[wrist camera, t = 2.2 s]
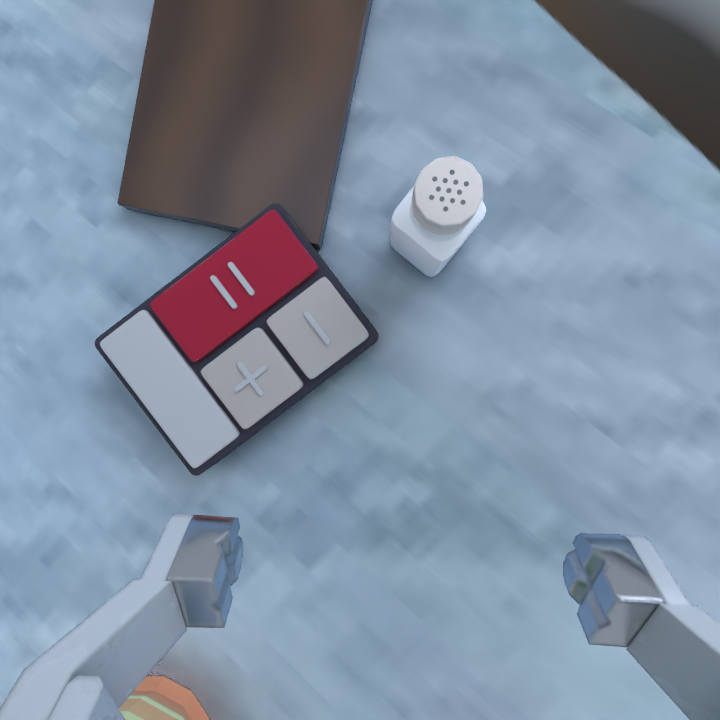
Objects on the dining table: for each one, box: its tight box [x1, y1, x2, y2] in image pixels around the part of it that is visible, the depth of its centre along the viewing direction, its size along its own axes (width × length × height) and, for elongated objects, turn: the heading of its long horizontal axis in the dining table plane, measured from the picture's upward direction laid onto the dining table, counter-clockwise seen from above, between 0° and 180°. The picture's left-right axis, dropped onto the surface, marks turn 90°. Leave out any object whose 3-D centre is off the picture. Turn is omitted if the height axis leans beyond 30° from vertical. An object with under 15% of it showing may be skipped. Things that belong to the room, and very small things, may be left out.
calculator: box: [95, 203, 378, 475], centre depth 29 cm, size 11×4×15 cm
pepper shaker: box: [390, 156, 486, 277], centre depth 25 cm, size 4×4×10 cm
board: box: [118, 0, 372, 249], centre depth 29 cm, size 14×20×1 cm
